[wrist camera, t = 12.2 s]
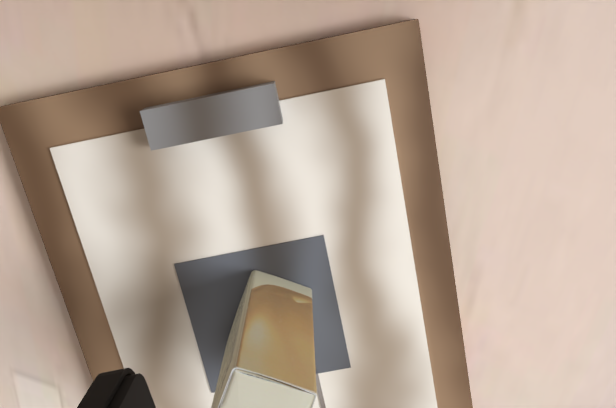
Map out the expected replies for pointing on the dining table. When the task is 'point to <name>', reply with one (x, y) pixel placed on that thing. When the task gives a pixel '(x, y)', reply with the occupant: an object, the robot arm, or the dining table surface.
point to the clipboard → (254, 216)
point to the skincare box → (269, 348)
